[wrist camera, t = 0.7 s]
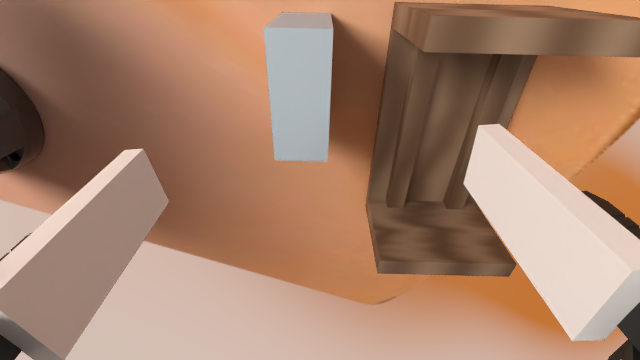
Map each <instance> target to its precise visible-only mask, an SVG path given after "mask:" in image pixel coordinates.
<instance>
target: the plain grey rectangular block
mask: <svg viewBox="0 0 640 360" xmlns="http://www.w3.org/2000/svg"><path fill="white" fill-rule="evenodd" d="M264 37H265V49H266V61H267V73H268V86H269V98H270V110H271V122H272V135H273V147H274V159H275V160H287V161H327V162H328V146H329V122H330V98H331V74H332V50H333V24H332V17H331V13H297V12H282V13H281V14H279V15H278V16H277V17H276V18H275V19H273V20H272V21H271V22H270V23H269V24H267V25H266V26H265V27H264Z"/></svg>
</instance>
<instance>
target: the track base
mask: <svg viewBox="0 0 640 360" xmlns="http://www.w3.org/2000/svg"><path fill="white" fill-rule="evenodd" d="M537 55H563V56H604V57H640V18H638V17H630V16H622V15H615V14H607V13H599V12H592V11H584V10H576V9H568V8H561V7H553V6H529V5H488V4H447V3H405V2H395V4H394V11H393V18H392V25H391V32H390V39H389V45H388V52H387V59H386V66H385V73H384V80H383V87H382V94H381V101H380V108H379V115H378V122H377V129H376V136H375V143H374V150H373V157H372V164H371V171H370V178H369V185H368V192H367V199H366V211H367V217H368V222H369V228H370V233H371V239H372V245H373V250H374V256H375V261H376V267H377V273H382V274H424V275H465V276H466V275H467V276H469V275H471V276H507V277H508V276H510V274H511V272H512V271H513V269H514V268H515V266H516V263H515V261H514V260H513V258H512V257H511V255H510V254H509V252H508V251H507V249H506V248H505V246H504V245H503V243H502V242H501V240H500V239H499V237H498V236H497V234H496V233H495V231H494V230H493V228H492V227H491V225H490V224H489V222H488V221H487V219H486V218H485V216H484V215H483V213H482V212H481V210H480V209H479V207H478V206H477V204H476V203H475V202H476V201H475V200H474V198H473V197H472V196H471V194H470V193H469V191H468V190H467V188H466V187H465V185H464V184H463V183H464V180H465V176H466V172H467V168H468V164H469V160H470V156H471V153H472V149H473V145H474V141H475V137H476V133H477V129H478V126H479V125H490V124H500V125H501V126H502V127H504V128H505V129H506V128H507V126H508V124H509V121H510V119H511V116H512V114H513V112H514V109H515V107H516V105H517V102H518V100H519V98H520V95H521V93H522V90H523V88H524V86H525V83H526V81H527V79H528V76H529V74H530V72H531V69H532V67H533V64H534V62H535V60H536V57H537Z"/></svg>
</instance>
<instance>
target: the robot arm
mask: <svg viewBox="0 0 640 360" xmlns="http://www.w3.org/2000/svg"><path fill="white" fill-rule="evenodd" d="M43 142H44V133H43V127H42V124H41V121H40V118H39V116H38V114H37V112H36V110H35V108H34V107H33V105H32V103H31V102H30V100H29V99H28V98H27V96H26V95H25V94H24V93H23V91H22V90H21V89H20V88H19V87H18V86H17V85H16V84H15V83H14V82H13V81H12V80H11V79H10V78H9V77H8V76H7V75H6V74H5V73H4V72H2V71H1V70H0V174H2V173H6V172H10V171H12V170H15V169H17V168H19V167H21V166H22V165H24V164H25V163H27V162H29V161H30V160H32V159H33V158H35V157H36V156H37V155H38V154H39V152H40V151H41V149H42V146H43ZM463 184H464V185H465V187H466V188H467V190H468V191H469V193H470V194H471V196H472V197H473V198H474V200H475V201H476V203H477V204H478V206H479V207H480V209H481V210H482V211H483V213H484V214H485V216H486V217H487V219H488V220H489V222H490V223H491V224H492V226H493V227H494V229H495V230H496V232H497V233H498V234H499V236H500V237H501V239H502V240H503V242H504V243H505V245H506V246H507V248H508V249H509V250H510V252H511V253H512V255H513V256H514V258H515V259H516V261H517V262H518V263H519V265H520V266H521V268H522V269H523V271H524V272H525V274H526V275H527V277H528V278H529V279H530V281H531V282H532V283H533V285H534V287H535V288H536V290H537V291H538V292H539V294H540V295H541V297H542V298H543V300H544V301H545V302H546V304H547V305H548V307H549V308H550V310H551V311H552V312H553V314H554V315H555V317H556V318H557V320H558V321H559V323H560V324H561V326H562V327H563V329H564V330H565V331H566V333H567V334H568V336H569V337H570V339H571V340H572V341H590V340H605V339H606V338H607V337H608V336H609V335H610V334H611V333H612V332H613V331H614V330H615V328H617V327H618V328H619V329H620V330H621V331H622V332H623V333H624V335H625V336H626V337H627V338H628V340H627V341H626V342H625V343H624V344H623V345H622V346H621V347H620V348H618V349H617V350H616V351H615V352H614V353H613V354H612V355H611V356H610V357H609V359H608V360H620V359H622V360H640V229H639V225H637V224H636V223H635V222H633V221H632V220H631V219H630V218H628V217H627V218H626V217H625V214H623V213H622V212H620V211H619V210H618V209H617V208H616V207H614V206H613V205H612V204H610V203H609V202H608V201H606V200H604V199H602V198H600V197H598V196H596V195H594V194H592V193H589V192H588V191H580V190H579V189H577V188H576V187H575V186H574V185H573V184H571V183H570V182H569V181H568V180H567V179H565V178H564V177H563V176H562V175H561V174H559V173H558V172H557V171H556V170H554V169H553V168H552V167H551V166H550V165H548V164H547V163H546V162H545V161H544V160H542V159H541V158H540V157H539V156H537V155H536V154H535V153H534V152H533V151H531V150H530V149H529V148H528V147H527V146H525V145H524V144H523V143H522V142H521V141H519V140H518V139H517V138H516V137H514V136H513V135H512V134H511V133H510V132H508V131H507V130H506V129H505V128H504V127H502V126H501V125H500V124H490V125H479V126H478V129H477V133H476V137H475V141H474V145H473V149H472V153H471V156H470V160H469V164H468V168H467V172H466V176H465V180H464V183H463ZM168 203H169V200H168V198H167V196H166V194H165V192H164V190H163V188H162V186H161V184H160V182H159V180H158V178H157V176H156V173H155V171H154V169H153V167H152V165H151V163H150V161H149V159H148V157H147V155H146V153H145V151H144V149H131V150H124V151H123V152H122V153H121V154H120V155H119V156H118V157H116V158H115V159H114V160H113V161H112V162H111V163H110V164H109V165H107V166H106V167H105V168H104V169H103V170H102V171H101V172H100V173H99V174H97V175H96V176H95V177H94V178H93V179H92V180H91V181H90V182H88V183H87V184H86V185H85V186H84V187H83V188H82V189H81V190H80V191H78V192H77V193H76V194H75V195H74V196H73V197H72V198H71V199H69V200H68V201H67V202H66V203H65V204H64V205H63V206H62V207H61V208H59V209H58V210H57V211H56V212H55V213H54V214H53V215H52V216H50V217H49V218H48V219H47V220H46V221H45V222H44V223H43V224H42V225H40V227H38V228H37V229H36V230H35V231H34V232H32V233H30V234H29V235H27V236H26V237H25V238H24V239H22V240H21V241H20V242H19V243H18V244H17V245H16V246H15V247H13V248H12V249H11V252H10V253H7V254H6V255H5V256H3V257H2V258H1V259H0V360H15V358H16V357H17V356H18V354H19V353H20V352H21V351H23V352H24V353H26V354H27V355H28V356H30V357H31V358H32V359H34V360H65V358H66V357H67V355H68V354H69V352H70V351H71V349H72V348H73V346H74V344H75V343H76V342H77V340H78V338H79V337H80V336H81V334H82V333H83V331H84V330H85V328H86V327H87V325H88V324H89V322H90V321H91V319H92V318H93V316H94V314H95V313H96V311H97V310H98V308H99V307H100V305H101V304H102V302H103V301H104V299H105V298H106V296H107V295H108V293H109V292H110V290H111V289H112V287H113V286H114V284H115V283H116V281H117V280H118V278H119V277H120V275H121V274H122V272H123V271H124V269H125V268H126V266H127V265H128V263H129V262H130V260H131V259H132V257H133V256H134V254H135V253H136V251H137V250H138V248H139V247H140V245H141V243H142V242H143V241H144V239H145V238H146V236H147V235H148V233H149V232H150V230H151V229H152V227H153V226H154V224H155V223H156V221H157V220H158V218H159V217H160V215H161V214H162V212H163V211H164V209H165V208H166V206H167V205H168Z"/></svg>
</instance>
